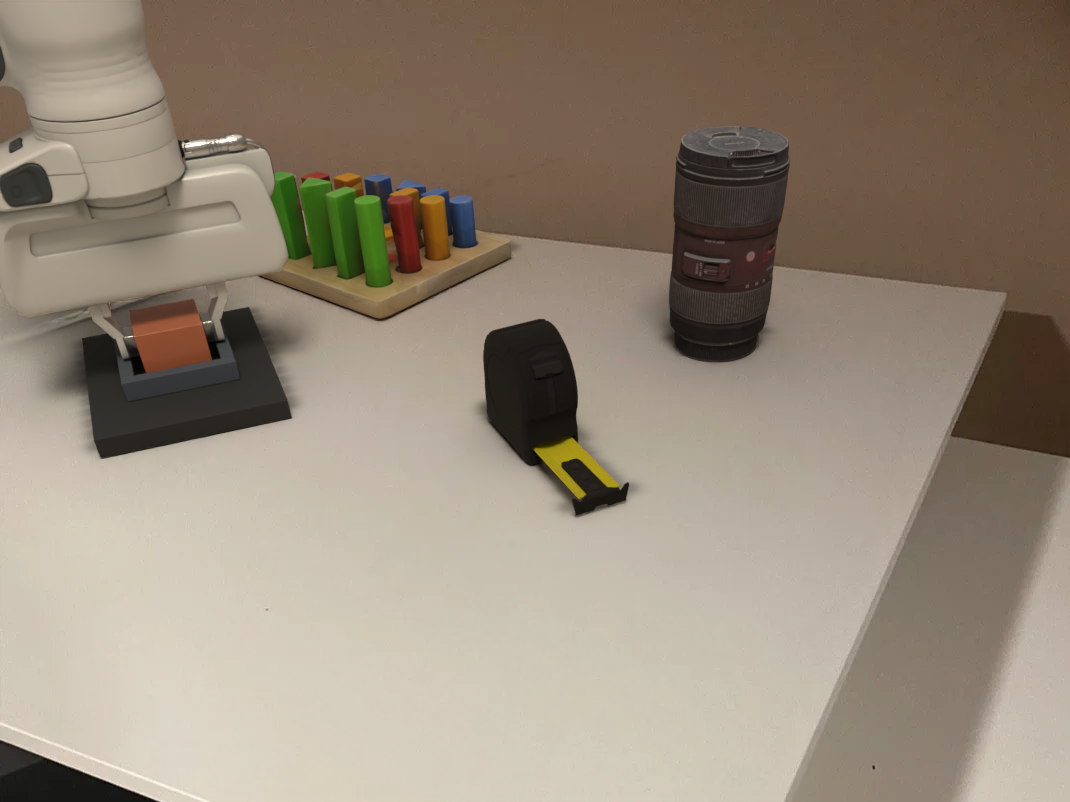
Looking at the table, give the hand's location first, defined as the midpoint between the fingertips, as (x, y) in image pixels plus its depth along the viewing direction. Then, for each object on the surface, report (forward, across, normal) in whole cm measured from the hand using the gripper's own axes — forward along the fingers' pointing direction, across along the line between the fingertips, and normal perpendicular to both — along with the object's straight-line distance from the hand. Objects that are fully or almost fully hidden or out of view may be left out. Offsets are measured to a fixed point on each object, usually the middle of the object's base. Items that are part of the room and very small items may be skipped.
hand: (173, 347), depth 78 cm
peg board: (+3, -21, -16) cm, 26 cm away
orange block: (+2, 0, 0) cm, 2 cm away
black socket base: (+3, 0, 0) cm, 3 cm away
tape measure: (+3, -23, +22) cm, 32 cm away
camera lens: (+3, -41, +12) cm, 43 cm away
